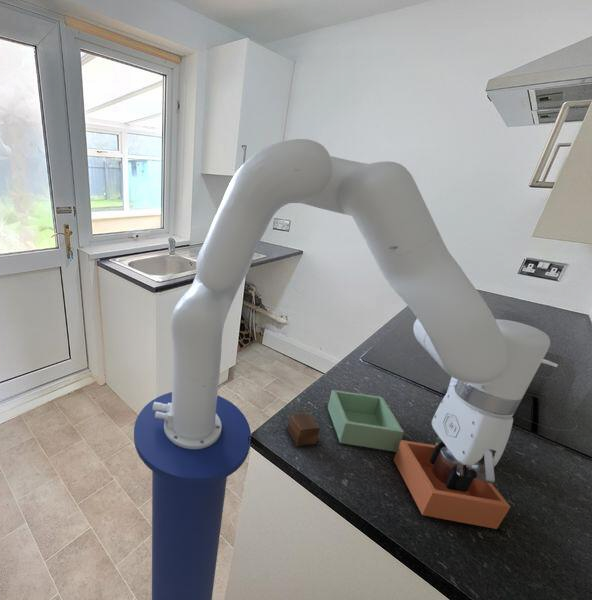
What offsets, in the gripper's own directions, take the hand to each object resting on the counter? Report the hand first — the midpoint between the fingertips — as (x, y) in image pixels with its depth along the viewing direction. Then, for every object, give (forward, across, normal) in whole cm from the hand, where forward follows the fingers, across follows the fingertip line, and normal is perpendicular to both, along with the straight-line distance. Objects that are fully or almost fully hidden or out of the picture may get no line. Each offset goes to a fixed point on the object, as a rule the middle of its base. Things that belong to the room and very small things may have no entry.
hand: (447, 475), depth 57 cm
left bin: (+4, -14, -10) cm, 18 cm away
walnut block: (+4, -8, -24) cm, 26 cm away
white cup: (+4, -32, +22) cm, 39 cm away
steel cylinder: (0, 0, 0) cm, 0 cm away
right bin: (+4, 0, 0) cm, 4 cm away
